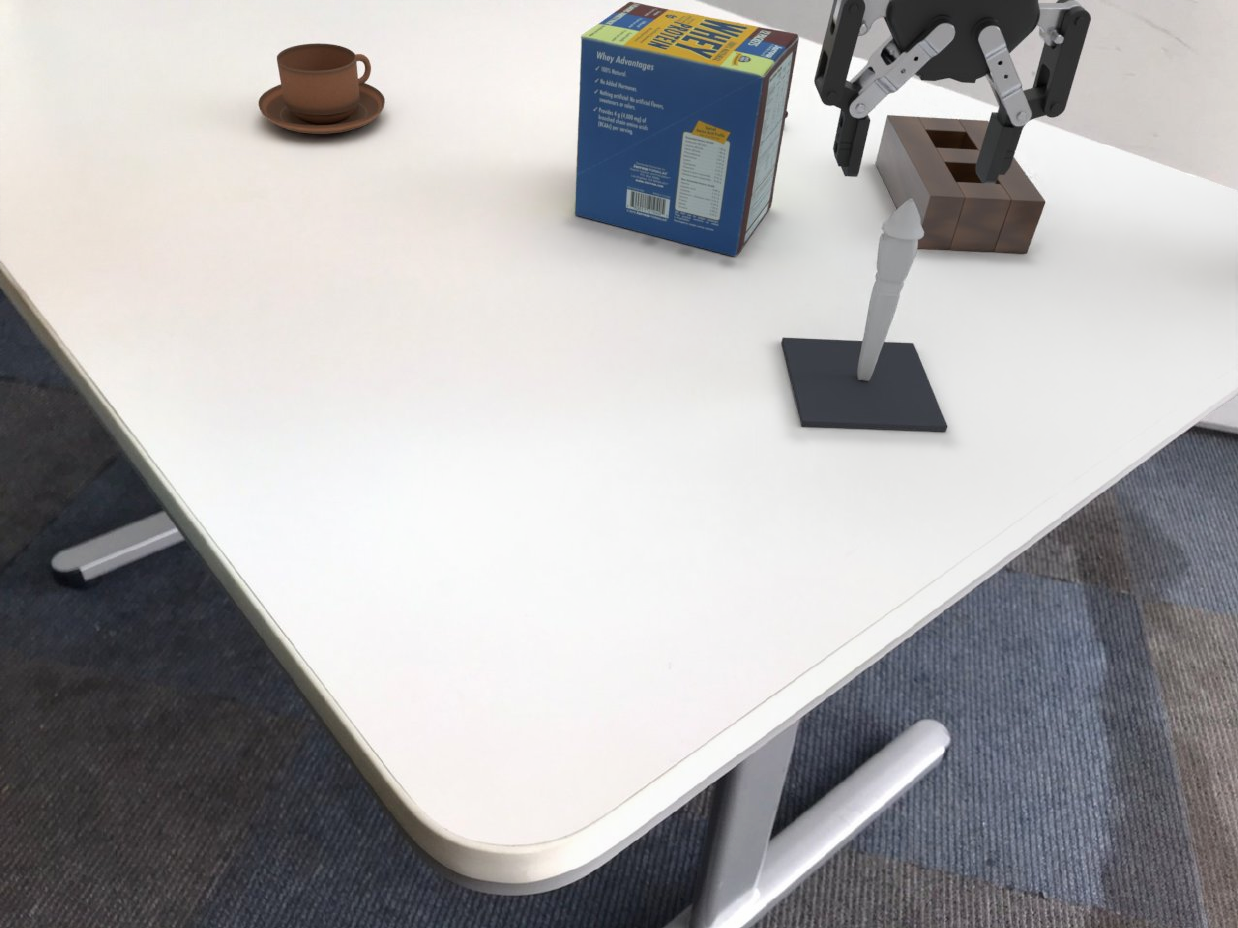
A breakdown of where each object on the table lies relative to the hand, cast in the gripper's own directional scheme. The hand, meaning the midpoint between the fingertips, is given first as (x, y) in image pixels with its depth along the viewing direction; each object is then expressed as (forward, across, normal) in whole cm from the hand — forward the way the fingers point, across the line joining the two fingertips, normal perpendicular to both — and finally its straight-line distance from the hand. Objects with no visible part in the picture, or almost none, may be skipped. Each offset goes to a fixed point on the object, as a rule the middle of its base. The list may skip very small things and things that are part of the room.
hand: (916, 175), depth 62 cm
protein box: (+16, -12, +25) cm, 32 cm away
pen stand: (+16, +14, +29) cm, 36 cm away
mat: (+16, 0, 0) cm, 16 cm away
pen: (+16, 0, 0) cm, 16 cm away
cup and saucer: (+16, -46, +41) cm, 64 cm away
